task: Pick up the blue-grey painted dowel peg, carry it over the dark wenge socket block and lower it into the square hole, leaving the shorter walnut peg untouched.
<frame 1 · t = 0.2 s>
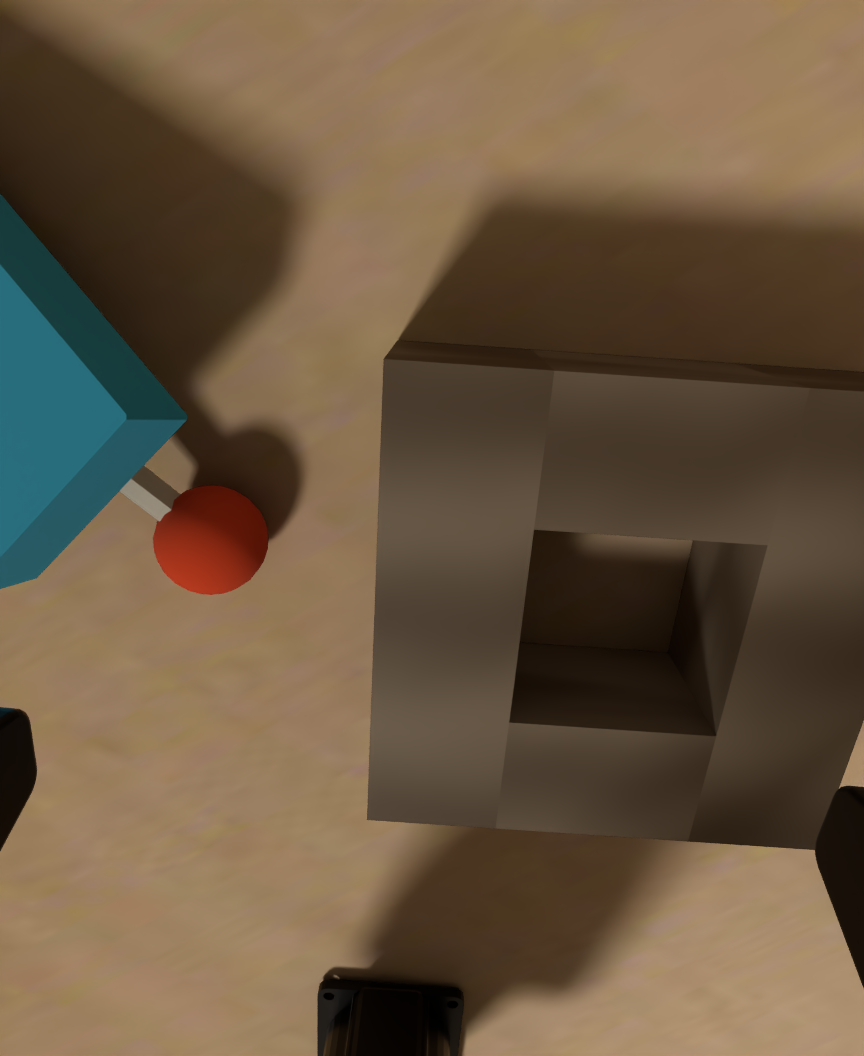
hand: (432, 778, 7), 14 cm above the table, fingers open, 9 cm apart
lever: (42, 346, 20), on the table
socket block: (596, 569, 22), on the table
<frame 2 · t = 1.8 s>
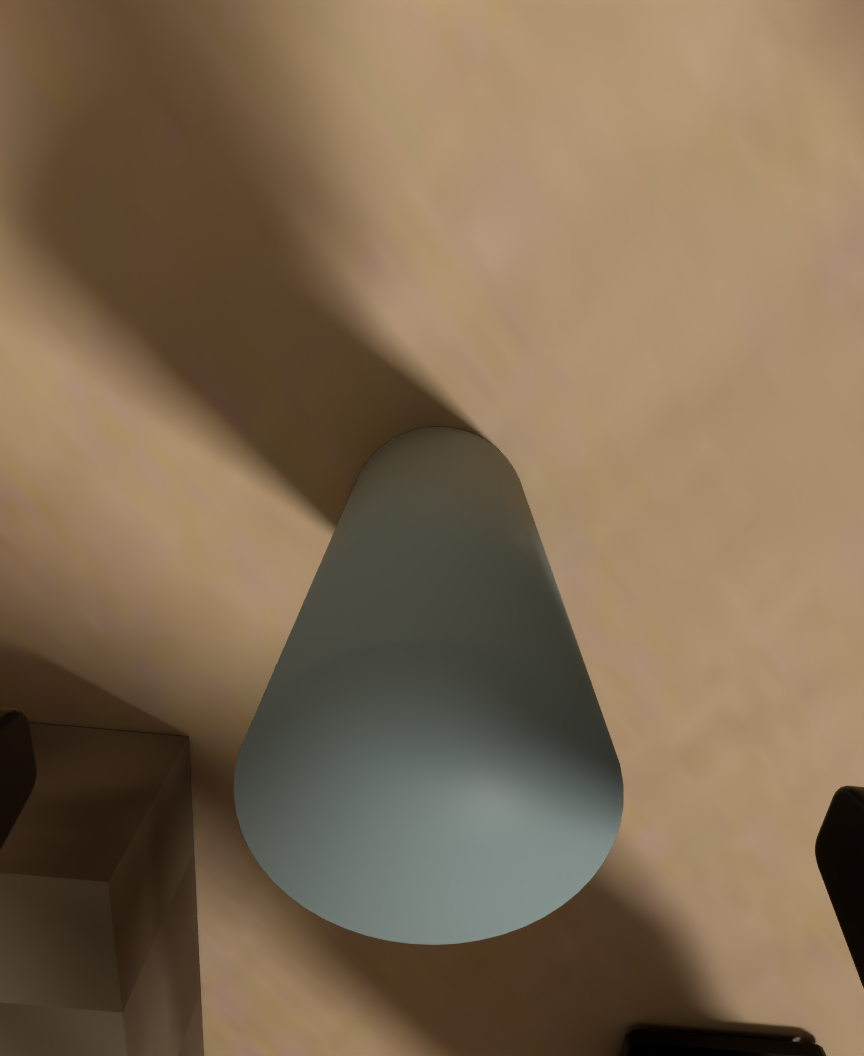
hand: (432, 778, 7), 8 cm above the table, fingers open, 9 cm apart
peg: (438, 512, 15), on the table
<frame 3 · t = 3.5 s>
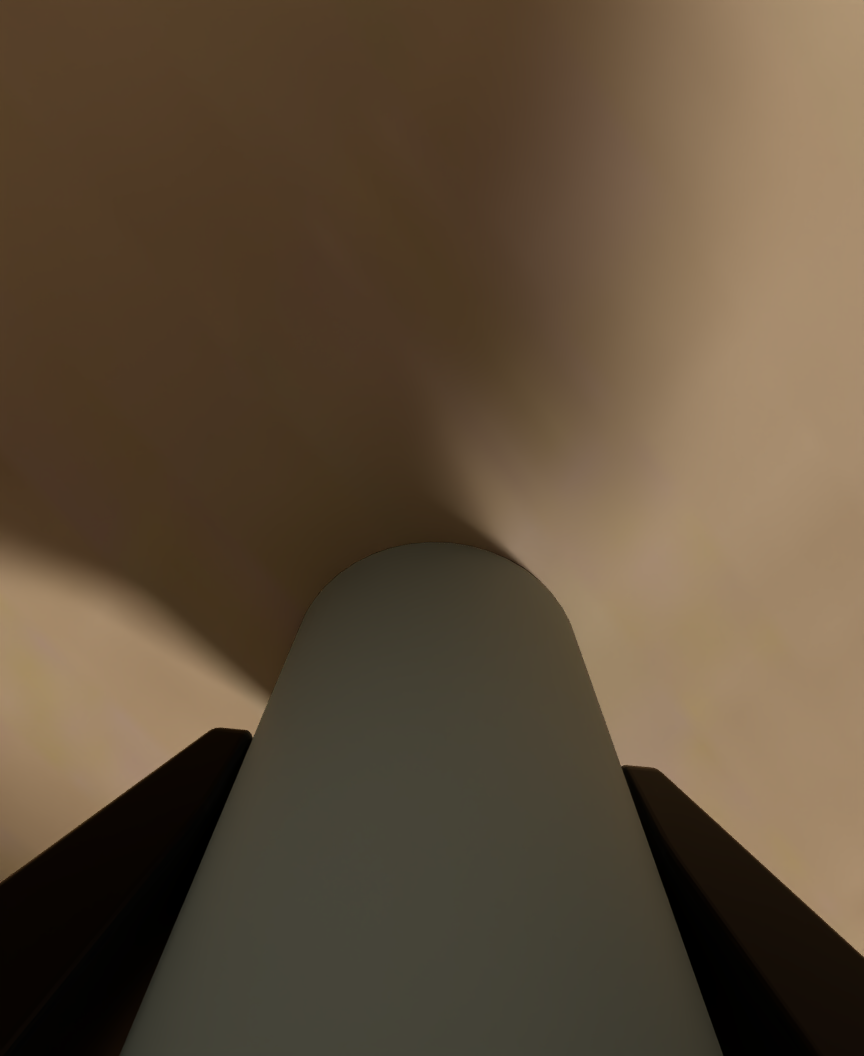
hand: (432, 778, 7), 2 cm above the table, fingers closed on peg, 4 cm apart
peg: (435, 674, 9), on the table, touching gripper
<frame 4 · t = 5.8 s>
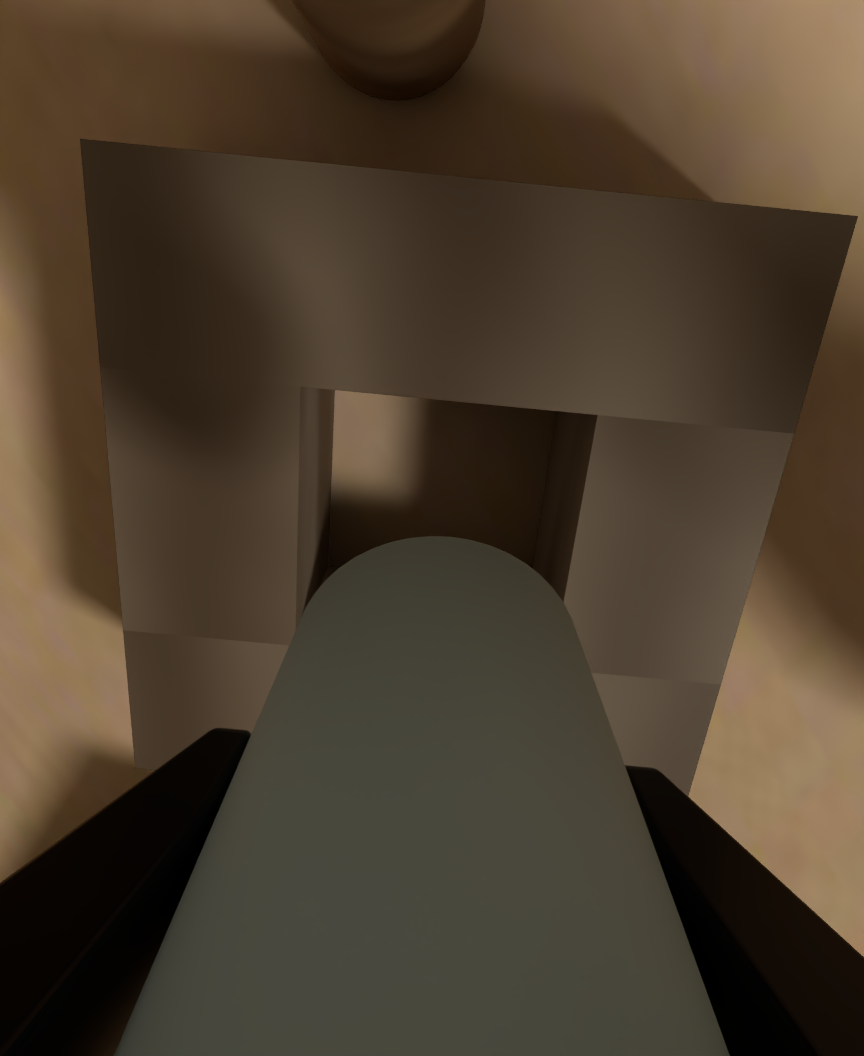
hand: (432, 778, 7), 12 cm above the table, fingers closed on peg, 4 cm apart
socket block: (438, 479, 19), on the table
peg: (436, 669, 9), point 10 cm above the table, touching gripper
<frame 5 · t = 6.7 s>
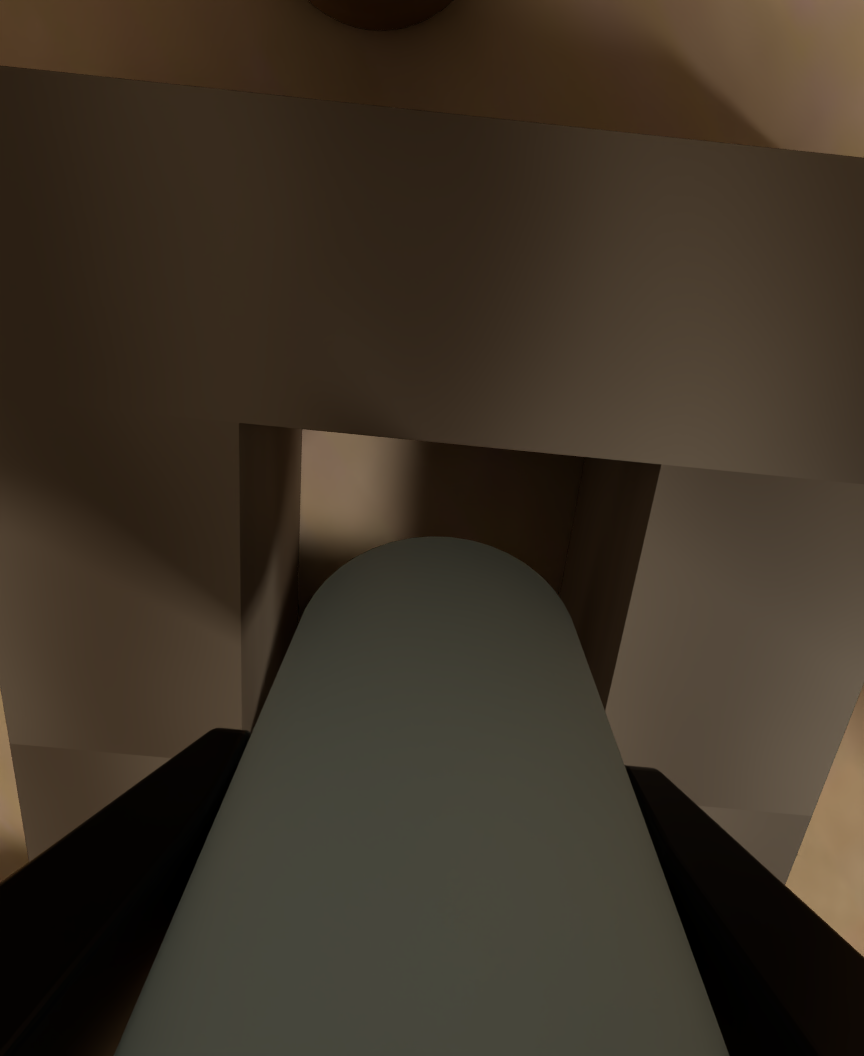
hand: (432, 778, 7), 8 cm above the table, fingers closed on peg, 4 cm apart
socket block: (435, 527, 15), on the table
peg: (436, 669, 9), point 6 cm above the table, touching gripper
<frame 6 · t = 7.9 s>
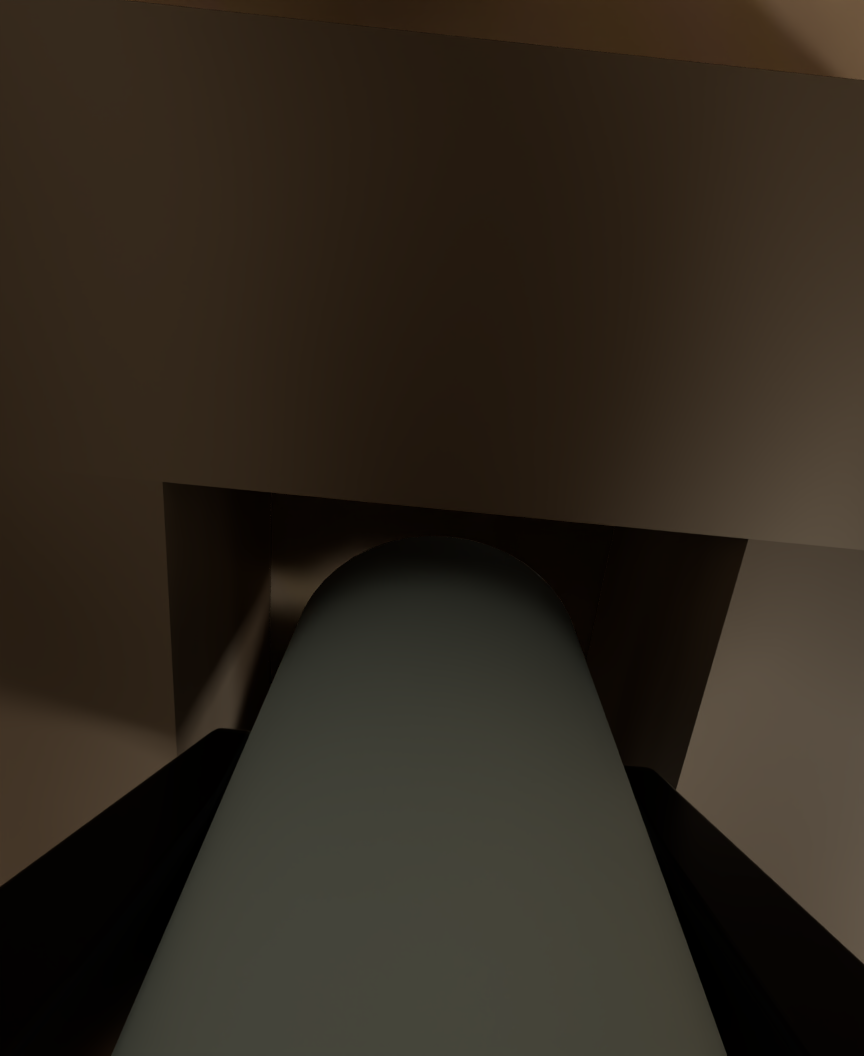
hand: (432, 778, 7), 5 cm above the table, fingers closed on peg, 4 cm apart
socket block: (435, 583, 12), on the table
peg: (435, 669, 9), point 3 cm above the table, touching gripper
when the fingers open (5 cm above the table, at t = 8.1 s): peg drops 3 cm, resting in socket block.
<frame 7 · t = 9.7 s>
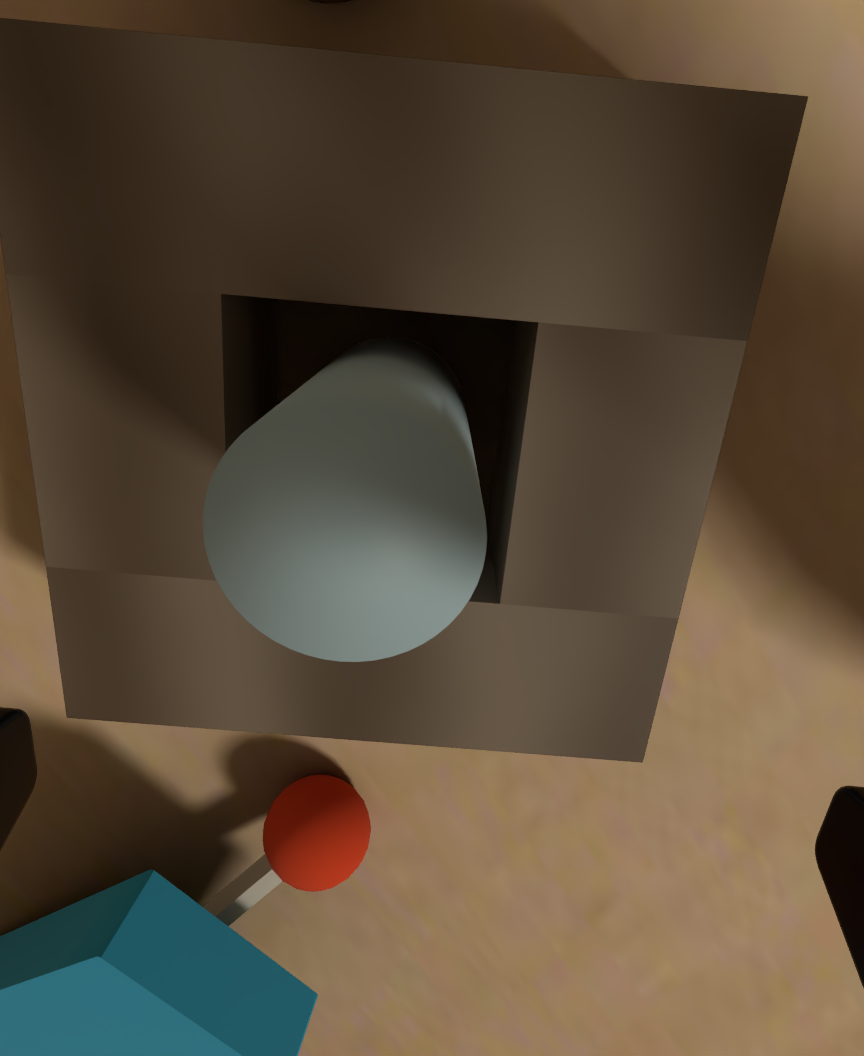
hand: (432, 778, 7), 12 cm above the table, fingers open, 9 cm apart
lever: (179, 892, 25), on the table
socket block: (388, 417, 18), on the table
peg: (390, 413, 18), resting in socket block
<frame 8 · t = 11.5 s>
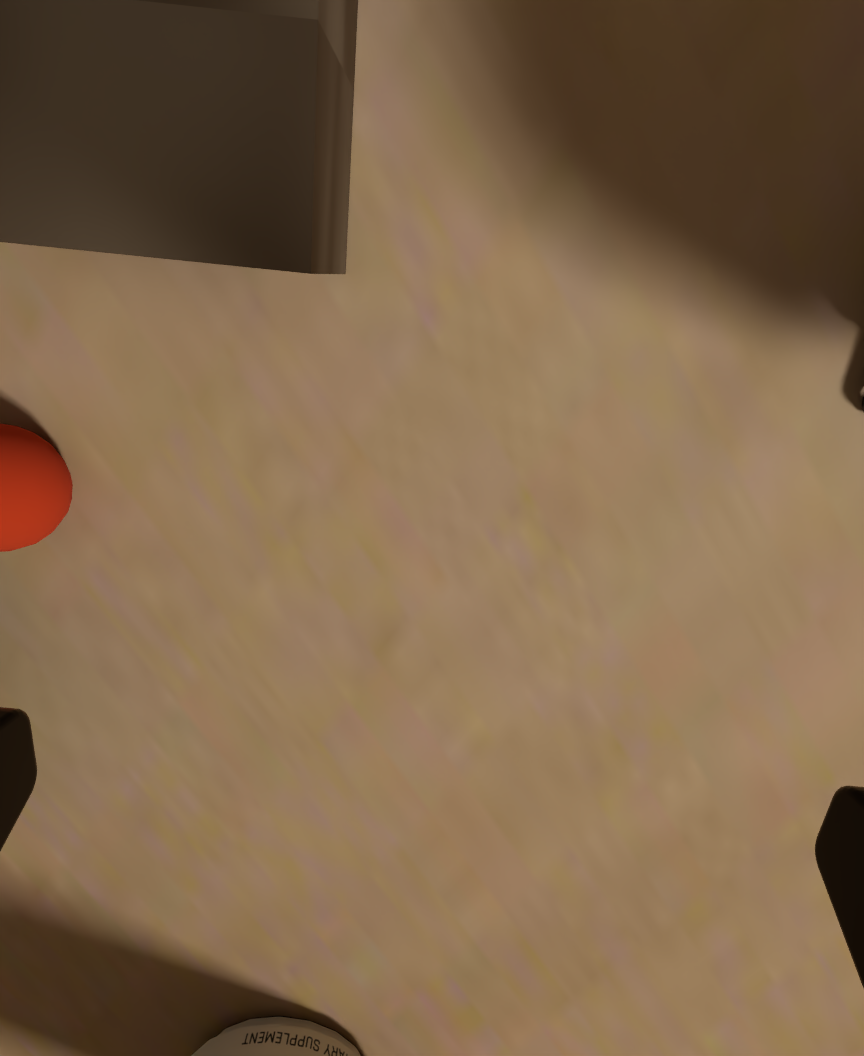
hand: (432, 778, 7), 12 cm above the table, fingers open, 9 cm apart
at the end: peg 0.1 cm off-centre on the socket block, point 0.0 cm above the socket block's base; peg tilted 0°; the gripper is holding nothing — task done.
